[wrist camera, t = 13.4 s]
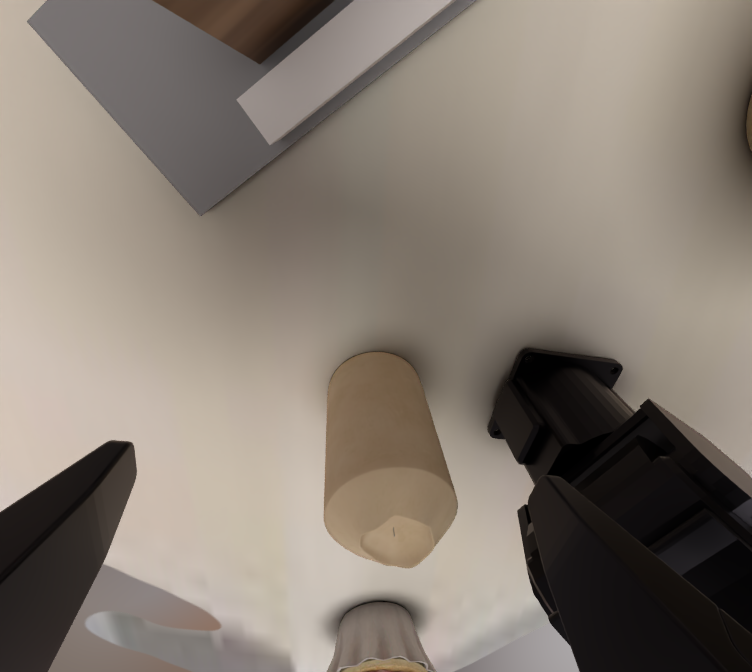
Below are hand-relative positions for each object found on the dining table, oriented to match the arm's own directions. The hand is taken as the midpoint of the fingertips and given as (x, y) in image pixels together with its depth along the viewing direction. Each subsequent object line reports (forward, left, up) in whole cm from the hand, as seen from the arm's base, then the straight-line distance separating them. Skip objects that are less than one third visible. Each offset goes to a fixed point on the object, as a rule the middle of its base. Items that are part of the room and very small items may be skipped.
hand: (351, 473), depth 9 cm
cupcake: (-8, +32, -13) cm, 36 cm away
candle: (-3, +7, -13) cm, 15 cm away
